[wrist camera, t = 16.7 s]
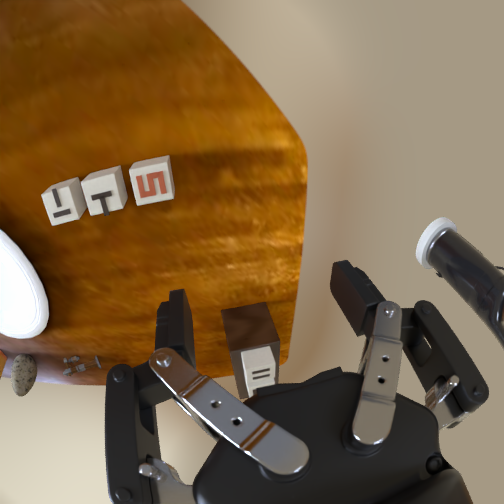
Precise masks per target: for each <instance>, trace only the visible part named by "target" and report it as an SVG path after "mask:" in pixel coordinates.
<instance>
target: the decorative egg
mask: <svg viewBox="0 0 504 504" xmlns="http://www.w3.org/2000/svg"><path fill="white" fill-rule="evenodd" d="M36 376H37V367H36V363H35V361H34V360H33V358H32V357H31V356H29V355H27V354H20V355H18V356H17V357H16V358H15V360H14V362H13V364H12V369H11V382H12V387H13V390H14V392H15V393H16V394H17V395H18V396H24V395H26V394H27V393H28V392H29V390H30V389H31V388H32V386H33V384H34V382H35V380H36Z"/></svg>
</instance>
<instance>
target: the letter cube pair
mask: <svg viewBox="0 0 504 504" xmlns="http://www.w3.org/2000/svg"><path fill="white" fill-rule="evenodd" d="M81 185H82V189H83V192H84V196H85V199H86V202H87V205H88V209H89V212H90V215H91V216H93V215H97V214H101V213H104V216H106V215H110V214H109V212H110V211H114V210H118V209H123V207H124V205H125V203H126V201H127V199H128V196H127V192H126V188H125V183H124V179H123V175H122V170H121V166H117V167H113V168H109V169H105V170H101V171H97V172H94V173H90V174H89V175H88V176H87V177H86V178H85V179H84V180H83V181H82V182H81ZM82 189H81V186H80V182H79V178H78V177H76V178H73V179H70V180H67V181H63V182H60V183H57V184H54V185H52V186H51V187H49V188H48V189H47V190H46V191H45V192H44V193H43V194H42V198H43V202H44V205H45V207H46V210H47V213H48V216H49V219H50V221H51V224H52V226H54V225H58V224H61V223H65V222H69V221H73V220H77V219H79V218H80V217H81V216H82V214H83V213H84V211H85V210H86V208H87V206H86V203H85V199H84V196H83V193H82Z"/></svg>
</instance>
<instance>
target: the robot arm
mask: <svg viewBox="0 0 504 504" xmlns="http://www.w3.org/2000/svg"><path fill="white" fill-rule="evenodd" d="M426 261H427V263H428V264H429V265H430V266H432V267H433V268H434V269H435V270H436V271H437V272H438V273H436V274H437V275H438V276H439V277H442V278H444V279H445V280H446V281H447V282H448V283H449V284H450V285H451V286H452V287H453V289H454V290H455V291H456V292H457V293H458V294H459V295H460V296H461V297H462V298H463V299H464V300H465V302H466V303H467V304H468V305H469V306H470V307H471V308H472V309H473V311H474V312H475V313H476V314H477V315H478V316H479V318H480V319H481V320H482V321H483V322H484V323H485V325H486V326H487V327H488V328H489V330H490V331H491V332H492V333H493V335H494V336H495V338H497V340H498V342H499V343H500V345H501V346H502V348H503V349H504V275H503V273H501V272H500V271H499V270H498V269H502V270H504V268H503V267H498V266H494V265H493V264H492V263H491V262H490V261H489V260H488V259H487V258H485V257H484V256H483V254H482V253H481V252H479V250H477V249H476V248H475V247H474V246H473V245H471V244H470V243H469V242H468V241H467V240H466V239H464V238H463V237H462V236H461V235H459V234H458V233H457V232H456V231H454V230H453V229H452V228H450V227H446V228H444V229H442V230H440V231H439V232H438V233H437V234H436V235H435V236H434V238H433V239H432V241H431V242H430V244H429V246H428V249H427V252H426ZM330 289H331V292H332V295H333V296H334V298H335V300H336V301H337V303H338V305H339V306H340V308H341V310H342V311H343V313H344V315H345V316H346V318H347V320H348V321H349V323H350V325H351V327H352V328H353V330H354V332H355V333H356V335H357V337H358V336H361V335H364V334H365V336H366V340H365V343H364V348H363V352H362V356H361V361H360V364H359V368H358V371H357V373H354V372H343V371H342V369H341V367H337V368H334V369H331V370H327V371H324V372H321V373H319V374H317V375H316V376H314V377H312V378H310V379H308V380H306V381H304V382H302V383H288V384H286V383H285V384H274V385H269V386H264V387H260V388H256V394H255V395H253V396H251V397H250V398H248V399H247V400H245V401H244V402H243V403H242V402H241V401H239V400H238V399H237V398H235V397H234V396H233V395H231V394H230V393H229V392H228V391H226V390H225V389H224V388H222V387H221V386H220V385H219V384H218V383H216V382H215V381H214V380H213V379H212V378H210V377H209V376H207V375H204V376H203V375H201V374H200V373H199V372H198V371H197V370H196V363H195V351H194V337H193V321H192V314H191V310H190V306H189V303H188V300H187V296H186V293H185V290H184V289H179V290H173V291H170V294H169V301H167V302H162V303H161V305H160V306H159V308H158V310H157V322H156V325H157V326H156V337H155V351H154V352H153V353H152V354H151V356H150V358H149V360H148V361H147V362H145V363H143V364H141V365H138V366H136V367H133V368H131V367H130V366H129V365H126V364H118V365H115V366H114V367H112V368H111V369H110V370H109V372H108V374H107V380H106V397H105V456H106V472H107V483H108V493H109V498H110V500H111V502H112V503H113V504H473V502H472V500H471V497H470V495H469V492H468V490H467V488H466V485H465V483H464V481H463V478H462V476H461V475H460V473H459V472H458V471H457V470H456V469H455V468H453V467H452V466H451V465H450V464H449V463H448V462H447V461H446V460H445V459H444V458H443V456H442V454H441V451H440V447H439V432H440V431H441V430H443V429H445V428H453V427H455V426H456V425H458V424H459V423H460V422H462V421H463V420H464V419H465V418H467V417H468V416H469V415H470V414H471V413H473V412H474V411H475V410H476V409H477V408H479V407H480V406H481V405H482V404H483V403H484V402H485V401H486V400H487V398H488V396H489V389H488V386H487V384H486V382H485V381H484V379H483V377H482V375H481V374H480V372H479V370H478V369H477V367H476V365H475V364H474V362H473V361H472V359H471V357H470V356H469V354H468V353H467V351H466V350H465V348H464V347H463V345H462V344H461V342H460V341H459V339H458V338H457V336H456V335H455V333H454V332H453V330H452V329H451V328H450V326H449V325H448V323H447V322H446V321H445V319H444V318H443V317H442V315H441V314H440V312H439V311H438V310H437V309H436V307H435V306H434V305H433V304H432V303H431V302H428V301H425V300H421V301H418V302H417V303H416V304H415V306H414V308H400V306H399V305H397V304H396V303H394V302H392V301H386V299H385V298H384V297H383V295H382V294H381V293H380V292H379V290H378V289H377V288H376V286H375V285H374V284H373V283H372V281H371V280H370V279H369V277H368V276H367V275H366V274H365V272H363V271H362V270H360V269H359V268H357V267H355V268H353V266H352V265H351V264H350V262H349V261H348V260H344V261H339V262H334V263H333V267H332V275H331V281H330ZM424 337H425V338H426V339H427V341H428V343H429V344H430V346H431V348H430V347H429V345H428V344H427V342H426V340H425V339H424ZM402 349H403V351H404V352H405V354H406V356H407V358H408V360H409V361H410V363H411V365H412V367H413V369H414V371H415V372H416V374H417V376H418V378H419V380H420V382H421V384H422V386H423V387H424V389H425V392H426V396H425V403H426V404H425V406H423V405H421V404H419V403H417V402H415V401H413V400H411V399H409V398H407V397H405V396H403V395H401V394H399V393H397V392H396V390H397V384H398V378H399V371H400V364H401V356H402ZM171 398H172V399H173V400H174V401H175V402H176V403H177V404H178V405H179V406H180V407H181V408H182V409H183V410H184V411H185V412H186V413H187V414H188V415H189V416H190V417H191V418H192V419H193V420H194V421H195V422H196V423H197V424H198V425H199V426H200V427H201V428H202V429H203V430H204V431H205V432H206V433H207V434H208V435H210V436H211V437H212V438H213V439H214V440H215V441H217V444H216V445H215V447H214V448H213V450H212V452H211V453H210V455H209V456H208V458H207V460H206V461H205V463H204V464H203V466H202V468H201V469H200V471H199V472H198V474H197V475H196V477H195V479H194V482H193V485H186V484H184V483H183V482H182V481H181V480H180V478H179V475H178V473H177V471H176V470H175V469H174V468H173V467H172V466H171V465H169V464H167V463H165V462H164V461H162V460H161V453H160V445H159V437H158V428H157V419H156V407H155V405H156V404H159V403H161V402H164V401H166V400H169V399H171Z"/></svg>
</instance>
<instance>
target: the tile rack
mask: <svg viewBox="0 0 504 504" xmlns="http://www.w3.org/2000/svg"><path fill="white" fill-rule="evenodd" d="M221 313H222V318H223V323H224V328H225V333H226V338H227V343H228V347H229V352H230V357H231V362H232V366H233V371H234V375H235V380H236V384H237V389H238V393H239V397H240V399H244V398H249V394H248V390H247V386H246V381H245V375H244V368H243V362H242V356H241V352H243V351H248V350H253V349H257V348H262V347H267V346H270V348H271V351H272V354H273V357H274V360H275V377H274V381H275V384H278V377H279V356H280V339H279V337H278V334H277V331H276V329H275V326H274V323H273V321H272V318H271V315H270V313H269V310H268V307H267V305H266V302H262V303H257V304H252V305H247V306H242V307H237V308H231V309H226V310H221Z"/></svg>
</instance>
